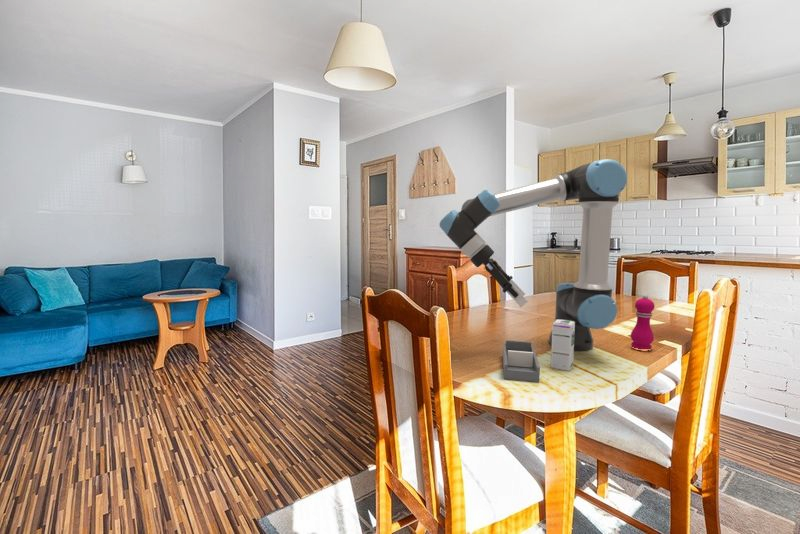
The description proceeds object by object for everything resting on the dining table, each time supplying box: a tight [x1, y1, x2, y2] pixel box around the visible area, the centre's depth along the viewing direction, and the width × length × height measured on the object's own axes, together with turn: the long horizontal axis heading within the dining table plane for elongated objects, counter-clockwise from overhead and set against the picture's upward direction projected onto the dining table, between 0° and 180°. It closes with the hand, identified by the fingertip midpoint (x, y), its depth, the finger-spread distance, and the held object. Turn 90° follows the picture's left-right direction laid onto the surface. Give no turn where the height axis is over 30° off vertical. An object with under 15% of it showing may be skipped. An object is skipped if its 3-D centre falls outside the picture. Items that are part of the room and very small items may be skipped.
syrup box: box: [550, 319, 575, 372], centre depth 127 cm, size 6×6×14 cm
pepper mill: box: [630, 293, 656, 350], centre depth 146 cm, size 7×7×20 cm
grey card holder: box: [502, 339, 541, 383], centre depth 125 cm, size 20×10×6 cm, turn 167°
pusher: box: [507, 350, 533, 368], centre depth 127 cm, size 6×7×4 cm
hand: (523, 300), depth 130 cm, fingers open, 13 cm apart
